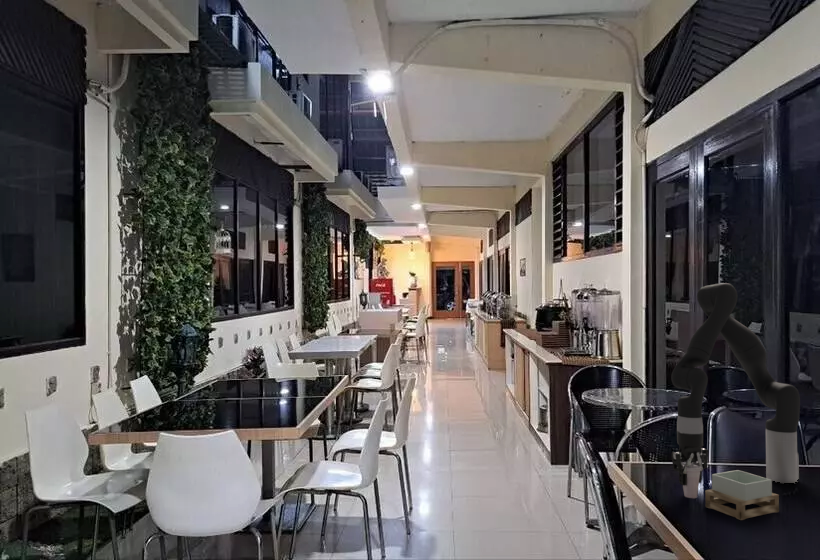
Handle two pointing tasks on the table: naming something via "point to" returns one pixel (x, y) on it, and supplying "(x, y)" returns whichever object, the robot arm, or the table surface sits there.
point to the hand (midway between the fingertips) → (690, 483)
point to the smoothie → (692, 481)
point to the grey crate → (742, 485)
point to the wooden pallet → (741, 504)
